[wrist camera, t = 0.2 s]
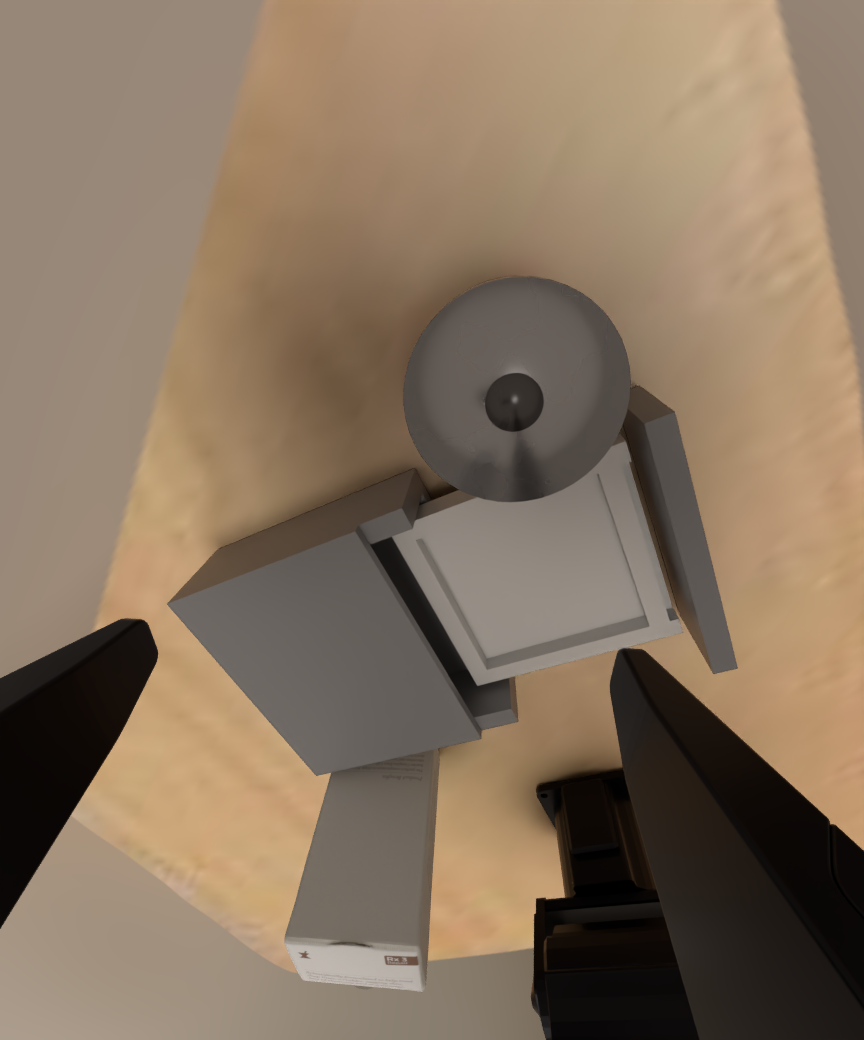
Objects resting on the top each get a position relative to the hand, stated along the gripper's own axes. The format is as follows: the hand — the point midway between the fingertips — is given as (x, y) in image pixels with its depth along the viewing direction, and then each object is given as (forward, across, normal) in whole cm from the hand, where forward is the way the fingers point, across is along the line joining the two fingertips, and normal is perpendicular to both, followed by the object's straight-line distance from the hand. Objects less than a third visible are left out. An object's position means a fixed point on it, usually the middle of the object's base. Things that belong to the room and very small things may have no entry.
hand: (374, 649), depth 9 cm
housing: (+14, +4, +10) cm, 18 cm away
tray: (+14, -6, +6) cm, 16 cm away
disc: (+10, -3, -3) cm, 11 cm away
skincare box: (+14, +3, +21) cm, 25 cm away
